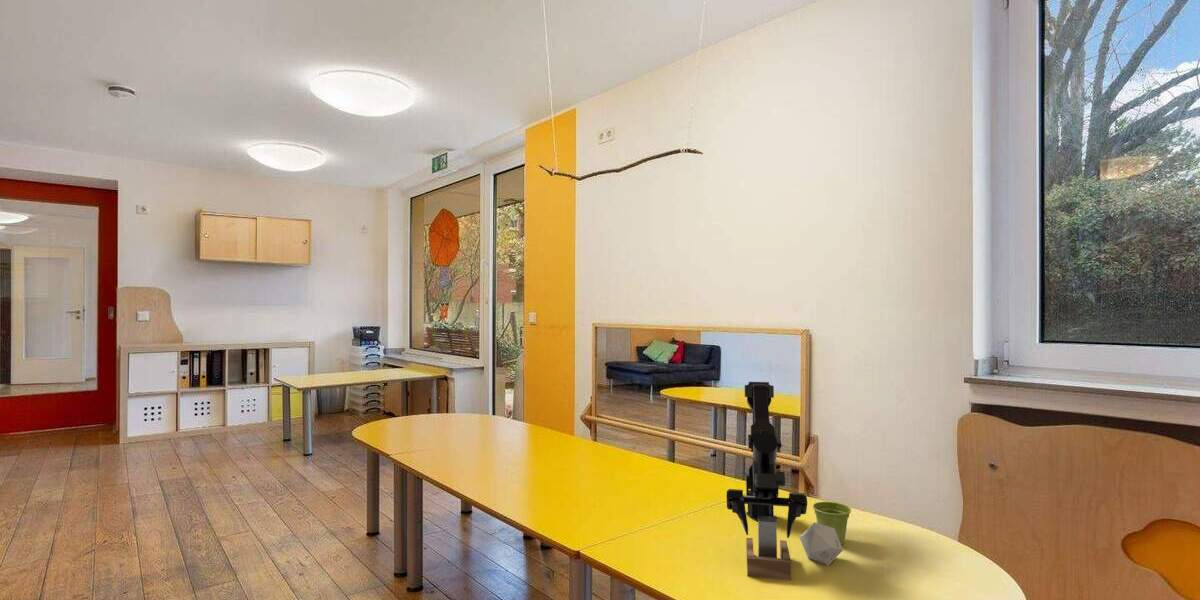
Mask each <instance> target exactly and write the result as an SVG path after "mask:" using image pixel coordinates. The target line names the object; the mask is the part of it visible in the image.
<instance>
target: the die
mask: <svg viewBox="0 0 1200 600" xmlns="http://www.w3.org/2000/svg"><path fill="white" fill-rule="evenodd" d="M799 540H800V542H801V545H802V547H803V550H804V552H805V554H806V557H807V559H809V560H811V561H815V562H817V563H820V564H823V565H825V566H826V565H827V566H830V565H831V563H832V562H833V561H834V560H835V559H836V558H837V557H838V556H839V555H840V554H841V553H842V552H843V551H844V548H843V546H842V544H841V543H840V541H839V538H838V536H837V533H836V531H835V529H834V528H832V527H828V526H825V525H821V524H818V523H817V522H813V523H812V524H811V525H810V526H809V527H808V528H807V529H806V530H805V531H803V533H801V535H800V536H799Z"/></svg>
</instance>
